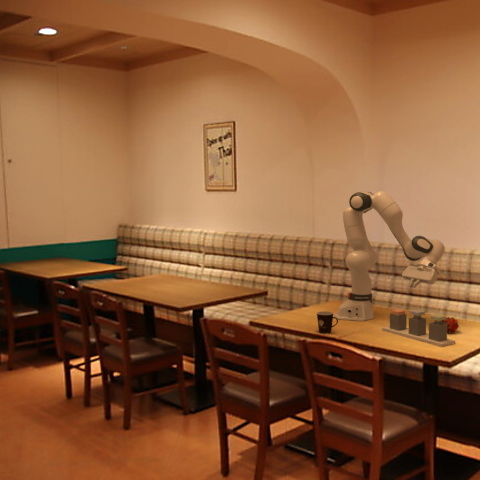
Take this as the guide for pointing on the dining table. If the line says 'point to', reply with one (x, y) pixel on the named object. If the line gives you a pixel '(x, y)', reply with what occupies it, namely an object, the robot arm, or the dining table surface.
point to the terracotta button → (397, 312)
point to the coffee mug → (325, 321)
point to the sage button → (438, 318)
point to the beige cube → (417, 313)
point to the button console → (419, 330)
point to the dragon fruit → (451, 324)
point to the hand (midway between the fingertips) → (412, 286)
